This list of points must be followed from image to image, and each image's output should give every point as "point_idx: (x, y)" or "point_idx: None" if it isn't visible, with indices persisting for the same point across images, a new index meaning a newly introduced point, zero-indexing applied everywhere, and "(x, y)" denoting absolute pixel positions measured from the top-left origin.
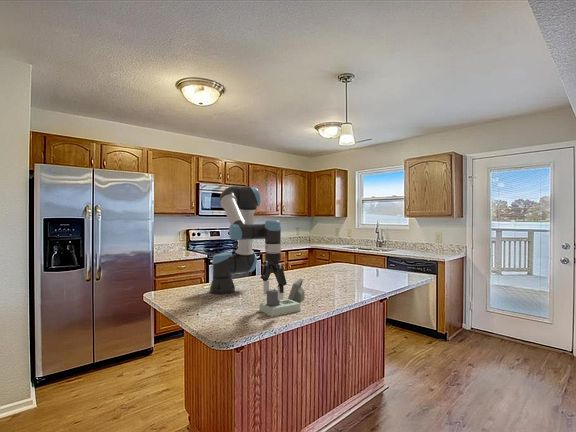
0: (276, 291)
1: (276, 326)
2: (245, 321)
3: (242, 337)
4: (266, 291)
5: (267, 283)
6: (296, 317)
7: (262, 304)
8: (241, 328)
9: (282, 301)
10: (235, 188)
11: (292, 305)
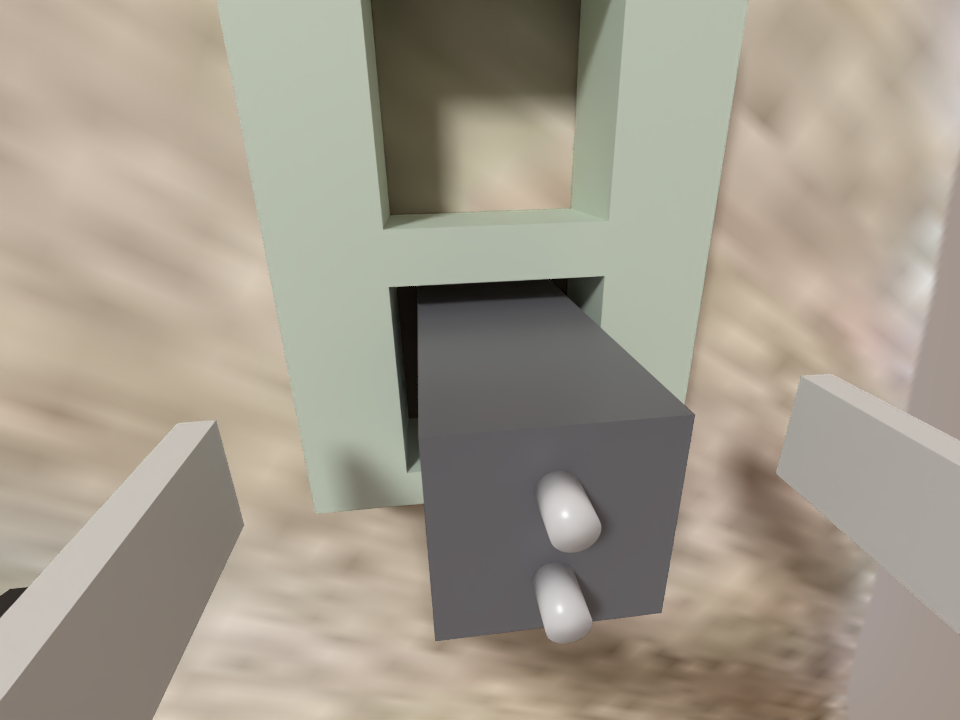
0: (654, 485)
1: None
2: (595, 648)
3: (839, 716)
4: (208, 517)
5: (60, 711)
6: (851, 203)
7: (411, 504)
8: (709, 695)
9: (371, 114)
10: None
11: (726, 111)
